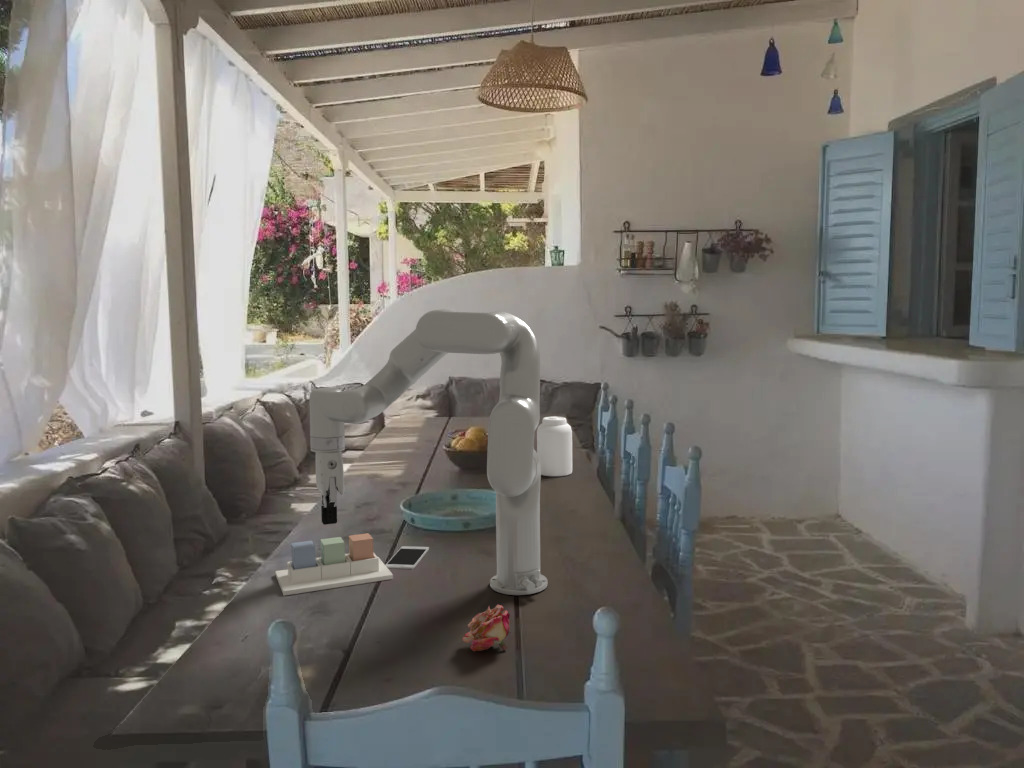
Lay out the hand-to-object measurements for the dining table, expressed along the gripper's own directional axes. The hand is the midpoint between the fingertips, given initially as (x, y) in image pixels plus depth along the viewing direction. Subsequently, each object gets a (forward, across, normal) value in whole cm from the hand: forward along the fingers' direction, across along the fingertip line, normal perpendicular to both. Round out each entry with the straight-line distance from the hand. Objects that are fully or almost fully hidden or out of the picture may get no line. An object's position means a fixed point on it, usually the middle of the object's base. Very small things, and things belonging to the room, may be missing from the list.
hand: (329, 522), depth 184 cm
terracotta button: (+9, 0, -7) cm, 11 cm away
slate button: (+9, 0, +6) cm, 11 cm away
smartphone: (+13, +6, -20) cm, 24 cm away
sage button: (+9, 0, -1) cm, 9 cm away
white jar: (+12, +74, -93) cm, 119 cm away
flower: (+12, -50, -19) cm, 55 cm away
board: (+13, 0, -1) cm, 13 cm away
